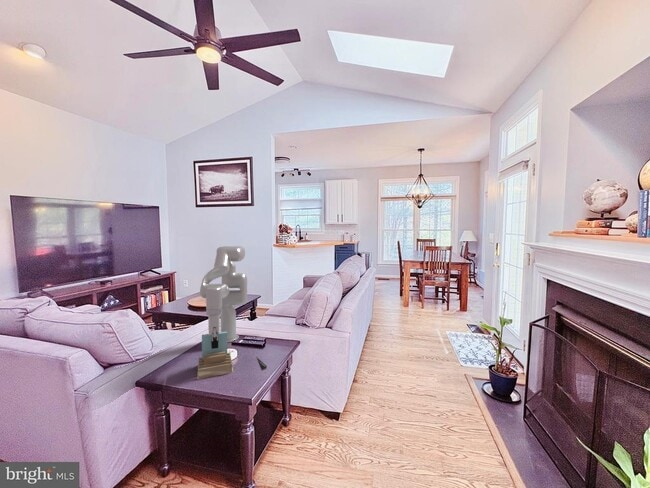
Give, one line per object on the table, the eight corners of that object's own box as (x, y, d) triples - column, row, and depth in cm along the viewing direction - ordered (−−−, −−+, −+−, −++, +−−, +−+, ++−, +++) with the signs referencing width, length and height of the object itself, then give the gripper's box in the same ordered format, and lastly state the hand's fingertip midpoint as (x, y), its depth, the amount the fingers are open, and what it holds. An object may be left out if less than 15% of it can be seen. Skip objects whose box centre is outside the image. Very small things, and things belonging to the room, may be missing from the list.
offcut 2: (204, 371, 135) (204, 357, 135) (225, 367, 139) (225, 353, 139) (204, 372, 134) (204, 358, 134) (226, 368, 138) (225, 355, 138)
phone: (255, 356, 153) (267, 366, 141) (255, 358, 153) (267, 368, 141) (241, 360, 148) (252, 371, 136) (241, 362, 148) (252, 373, 136)
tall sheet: (202, 365, 141) (201, 334, 140) (227, 361, 146) (226, 331, 145) (202, 367, 139) (201, 335, 139) (227, 362, 144) (227, 332, 143)
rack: (198, 367, 142) (197, 357, 142) (230, 361, 148) (230, 351, 148) (197, 381, 128) (196, 370, 128) (233, 374, 134) (233, 364, 134)
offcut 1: (204, 368, 138) (204, 354, 138) (225, 364, 142) (225, 351, 142) (204, 369, 137) (204, 355, 137) (225, 365, 141) (225, 352, 141)
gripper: (206, 307, 148) (206, 340, 149) (206, 316, 132) (206, 353, 133) (221, 306, 151) (221, 338, 152) (222, 314, 135) (223, 351, 136)
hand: (214, 345), depth 142 cm, fingers open, 6 cm apart
